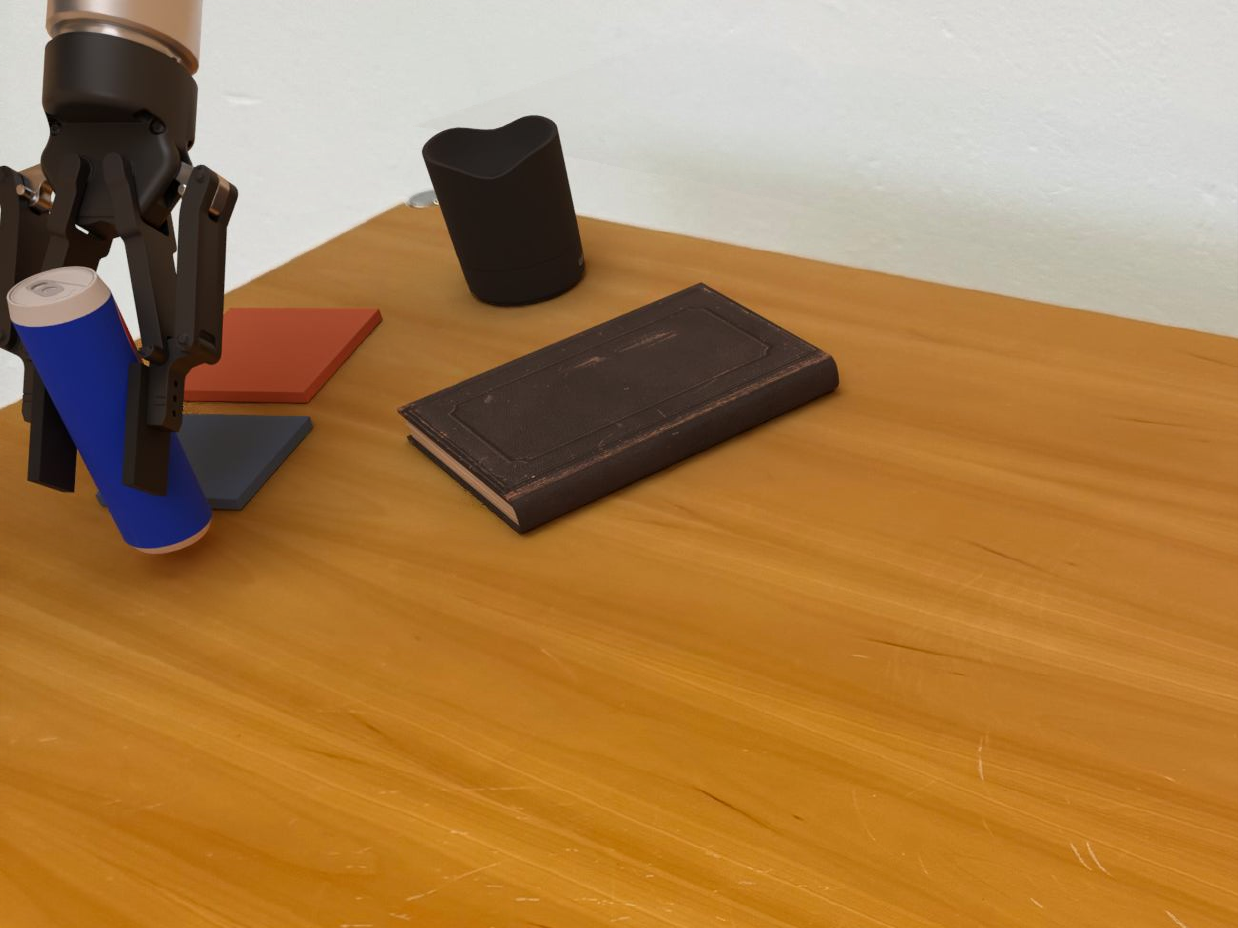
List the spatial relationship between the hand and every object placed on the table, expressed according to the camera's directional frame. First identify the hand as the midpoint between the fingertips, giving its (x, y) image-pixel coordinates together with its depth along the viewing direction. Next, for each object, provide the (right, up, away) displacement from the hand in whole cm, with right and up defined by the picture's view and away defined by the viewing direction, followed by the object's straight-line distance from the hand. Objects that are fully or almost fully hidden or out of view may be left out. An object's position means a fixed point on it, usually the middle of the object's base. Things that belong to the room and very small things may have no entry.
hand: (97, 487), depth 89 cm
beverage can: (+1, -1, +6) cm, 7 cm away
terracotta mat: (0, +16, +25) cm, 29 cm away
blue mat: (0, +5, +15) cm, 16 cm away
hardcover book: (+26, +8, +14) cm, 31 cm away
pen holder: (+17, +23, +30) cm, 41 cm away
